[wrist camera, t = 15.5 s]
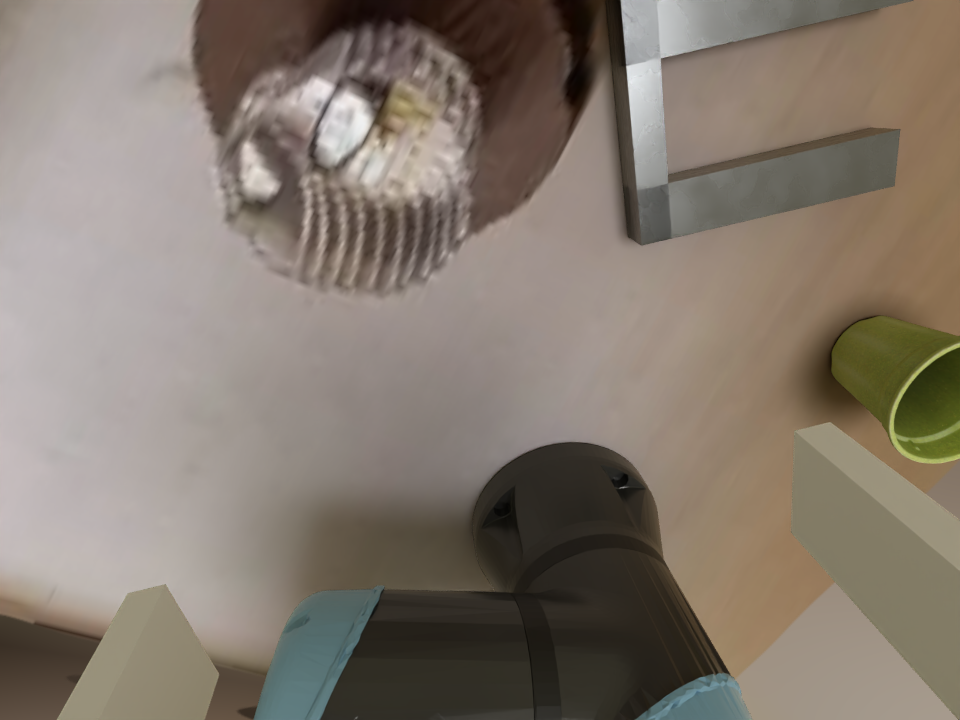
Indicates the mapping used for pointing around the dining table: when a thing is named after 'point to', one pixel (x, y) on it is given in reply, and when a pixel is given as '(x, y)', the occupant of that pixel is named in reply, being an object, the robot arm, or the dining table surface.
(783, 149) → the comb rail
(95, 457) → the dining table surface
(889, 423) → the plant pot
